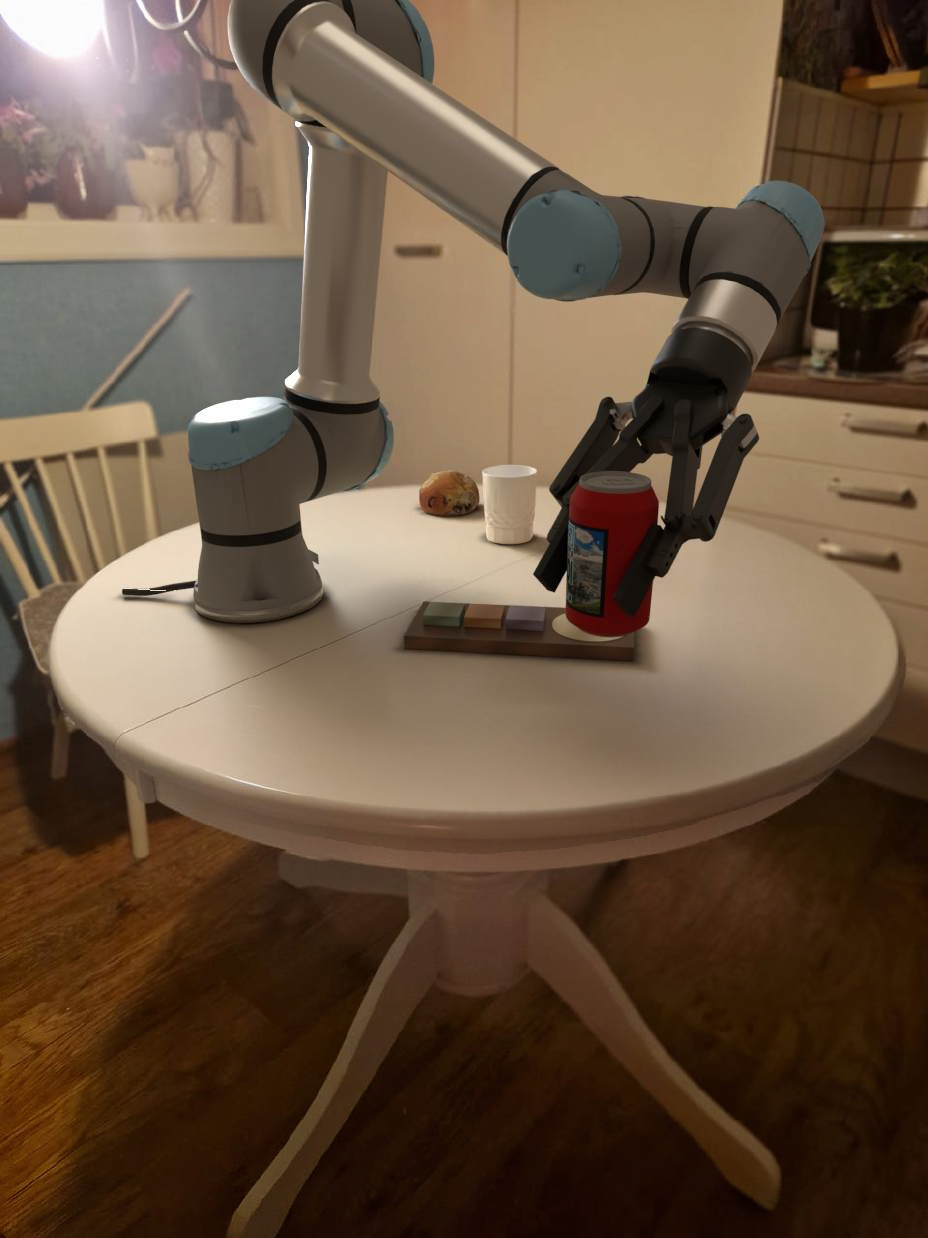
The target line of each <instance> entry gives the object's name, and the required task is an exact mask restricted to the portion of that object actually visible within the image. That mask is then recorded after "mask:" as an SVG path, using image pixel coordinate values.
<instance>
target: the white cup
mask: <svg viewBox="0 0 928 1238" xmlns="http://www.w3.org/2000/svg"><path fill="white" fill-rule="evenodd" d="M481 476H482V477H481V479H482V497H483V498H482V499H483V509H484V521H485V532H486V533H485V534H486V538H487V540H488V541H489V542H492V543H495V544H499V545H519V544H524V543H527V542H530V541H531V540H532V539H533V537H534V521H535V515H536V514H535V513H536V511H535V509H536V503H537V486H538V485H537V484H538V469H537V468H535V467H533V466H528V465H522V464H499V465H491V466H488V467H485V468H484V469H482V470H481Z"/></svg>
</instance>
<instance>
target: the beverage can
mask: <svg viewBox="0 0 928 1238" xmlns="http://www.w3.org/2000/svg"><path fill="white" fill-rule="evenodd" d="M659 508H660V501H659V498H658V495H657V494H656V492H655V490H654V488H653V485H652V479H651V478H650V477H649V476H647V475H644V474H641V473H636V472H632V471H631V472H623V471H601V472H593V473H588V474H585V475H583V476H581V477H580V483H579V484H578V486H577V488H576V489H575V491H574V493H573V494H572V496H571V498H570V506H569V526H568V549H567V571H566V578H565V580H566V581H565V582H566V583H565V608H566V618H567V620H568V621H569V622H570V623H571V624H573V625H574V626H576V627H578V628H579V629H580V630H581V631H583V632H585V633H587V634H590V635H594V636H598V637H622V636H626V635H629V634H632V633H633V632H634V633H635V632H637V631H638V630H641V629H643V628H645V627H646V626H647V625H648V624H649V622H650V619H651V607H652V599H653V597H652V596H653V587H654V581H653V582H652V584H651V586H650V588H649V590H648V592H647V594H646V596H645V598H644V600H643V601H642V603H641V605H640V607H639V609H638V611H637V613H636V615H635V617H632V616H629V615H626V614H625V613H624V612H623V610H622V609H621V608H620V607H619V605H618V604H617V603H616V602H615V600H614V599H613V597H614V595H615V593H616V591H617V589H618V587H619V585H620V583H621V581H622V579H623V577H624V576H625V574H626V572H627V570H628V568H629V566H630V564H631V562H632V560H633V558H634V556H635V555H636V553H637V551H638V549H639V547H640V545H641V543H642V541H643V539H644V537H645V535H646V534H647V532H648V530H649V528H650V526H651V524H657V525H659V524H658V523H659V511H660V510H659Z"/></svg>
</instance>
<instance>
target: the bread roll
mask: <svg viewBox="0 0 928 1238" xmlns="http://www.w3.org/2000/svg"><path fill="white" fill-rule="evenodd" d="M480 499H481V497H480V491H479V487H478V485H477V483H476V481H475V480H474V479H473V478H472V477H470V476H469V474H465V473H464V472H462V471H458V470H457V469H456V470H455V469H445V470H443V471H438V472H432V473H431V474H430V476H429V478H427V479H425V481H424V483H423V484H422V485H421V486H420V487H419V490H418V502H419V505H420V506H419V507H420V509H421V510H422V511H423V512H425V513H426V514H430V515H433V516H440V517H441V516H442V517H443V516H445V517H446V516H460V515H467V514H468V513H472V512H473V511H474V510H475V509H476V508H477V506H478V505H479V504H480Z"/></svg>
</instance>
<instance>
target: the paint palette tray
mask: <svg viewBox="0 0 928 1238" xmlns="http://www.w3.org/2000/svg"><path fill="white" fill-rule="evenodd" d="M635 645H636V644H635V632H633V633H632V634H629V635H626V636H622V637H598V636H594V635H590V634H587V633H585V632H583V631H581V630H580V629H579V628H578V627H576V626H574V625H573V624H571V623H570V622H569V621H568V620H567V618H566V607H562V606H561V607H560V606H558V607H557V606H538V605H537V606H536V605H517V604H515V605H514V604H496V603H495V604H491V603H471V602H451V601H450V602H447V601H425V600H423V601H422V602H421V604H420V605H419V608H418V610H417V611H416V613H415V614H414V616H413V619H412V620H411V622H410V624H409V625H408V627H407V629H406V630H405V632H404V634H403V648H404V649H409V650H413V649H414V650H426V651H427V650H428V651H444V652H445V651H446V652H465V653H486V654H500V655H502V654H503V655H521V656H539V657H558V658H559V657H560V658H576V659H577V658H578V659H593V660H595V659H596V660H611V661H612V660H613V661H632V662H633V661H634V660H635V649H636V648H635V647H636V646H635Z"/></svg>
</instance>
